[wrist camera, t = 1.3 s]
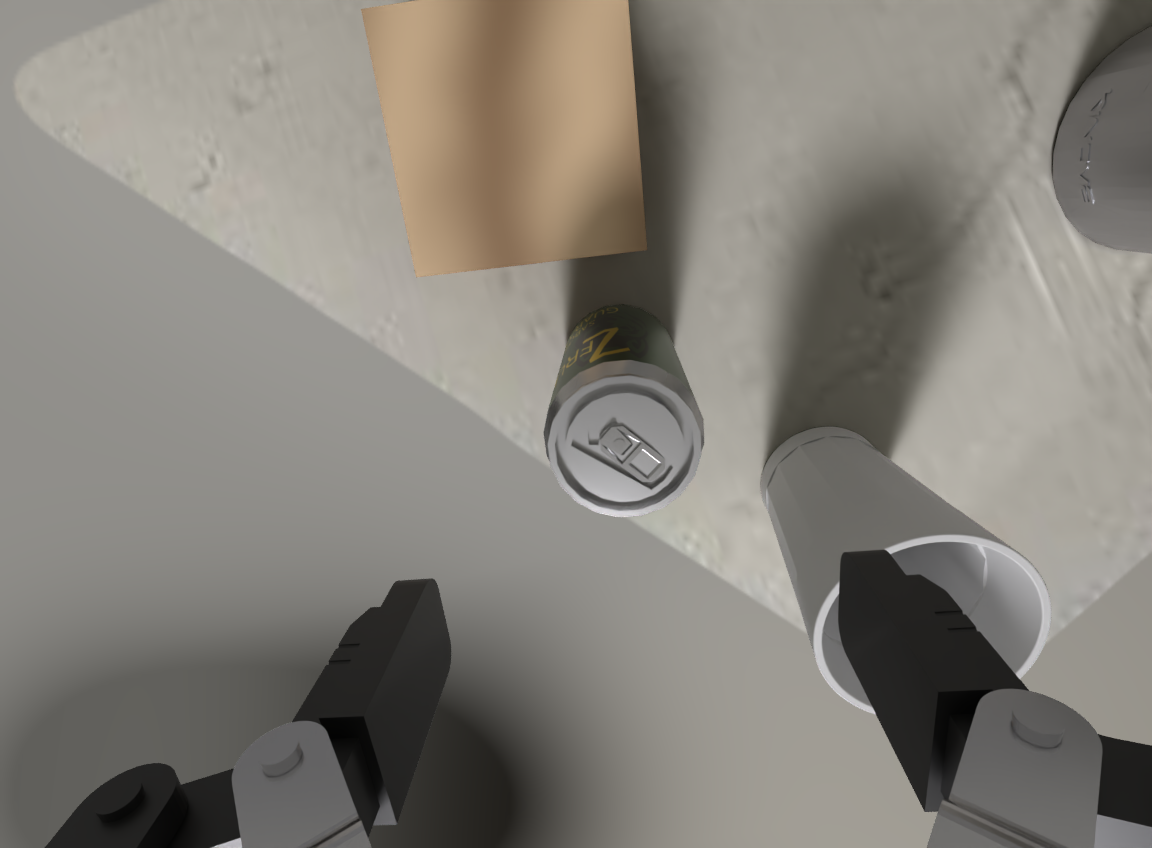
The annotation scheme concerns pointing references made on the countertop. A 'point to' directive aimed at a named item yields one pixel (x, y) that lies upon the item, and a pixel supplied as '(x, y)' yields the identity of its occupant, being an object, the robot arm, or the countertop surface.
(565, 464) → the green soda can
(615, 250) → the stool
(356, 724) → the robot arm
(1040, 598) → the cup
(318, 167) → the countertop surface
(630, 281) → the countertop surface
